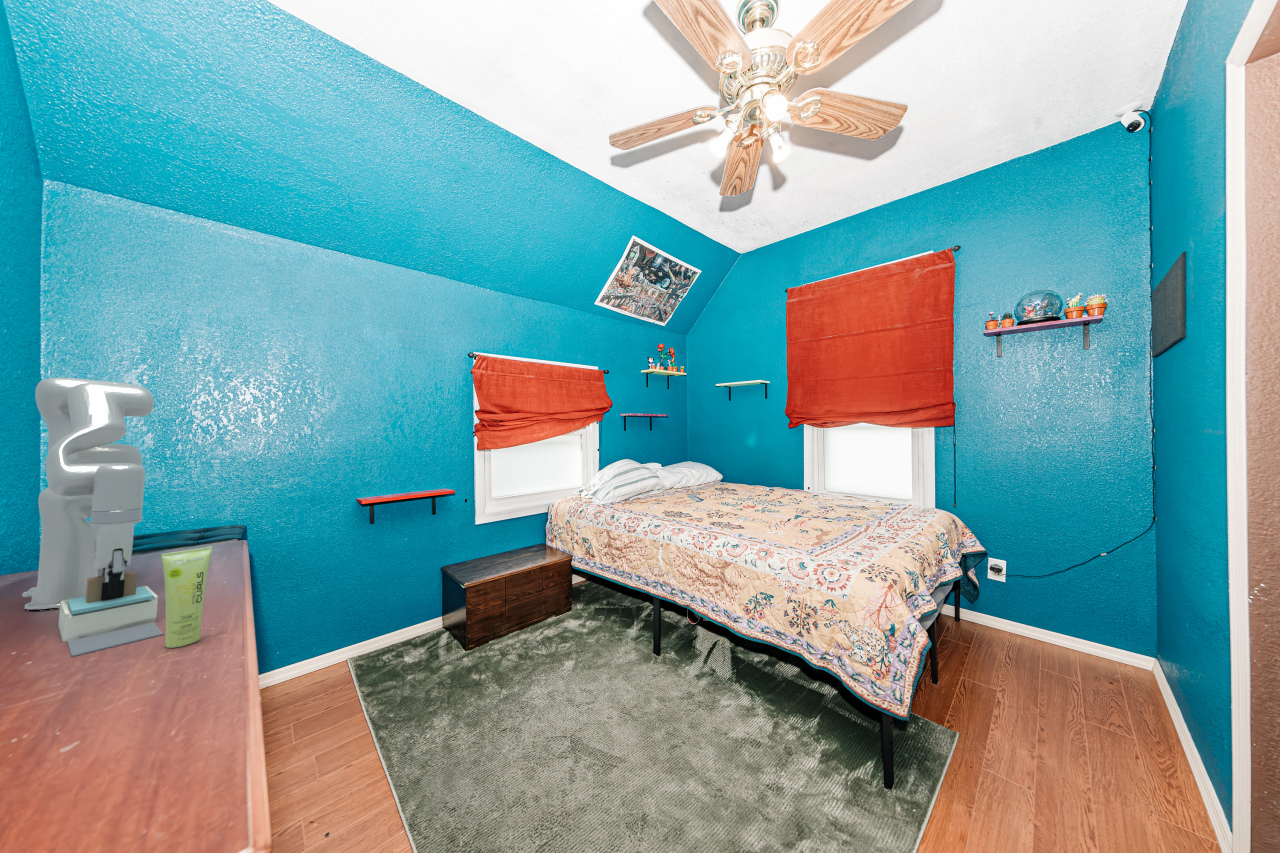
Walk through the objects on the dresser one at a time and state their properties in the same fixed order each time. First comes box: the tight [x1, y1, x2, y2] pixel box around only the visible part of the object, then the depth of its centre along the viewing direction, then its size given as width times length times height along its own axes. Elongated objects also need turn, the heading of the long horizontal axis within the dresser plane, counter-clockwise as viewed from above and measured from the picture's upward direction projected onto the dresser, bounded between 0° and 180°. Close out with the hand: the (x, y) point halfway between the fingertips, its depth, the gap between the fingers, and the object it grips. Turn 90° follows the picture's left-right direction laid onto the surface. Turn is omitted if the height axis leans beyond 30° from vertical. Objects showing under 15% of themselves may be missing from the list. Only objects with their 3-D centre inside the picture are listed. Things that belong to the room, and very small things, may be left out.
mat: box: [66, 622, 165, 658], centre depth 90 cm, size 11×12×1 cm
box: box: [57, 585, 159, 643], centre depth 98 cm, size 14×13×6 cm
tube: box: [160, 546, 214, 649], centre depth 89 cm, size 6×5×20 cm
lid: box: [67, 570, 153, 614], centre depth 97 cm, size 12×11×6 cm
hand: (111, 596), depth 97 cm, fingers closed on lid, 3 cm apart
